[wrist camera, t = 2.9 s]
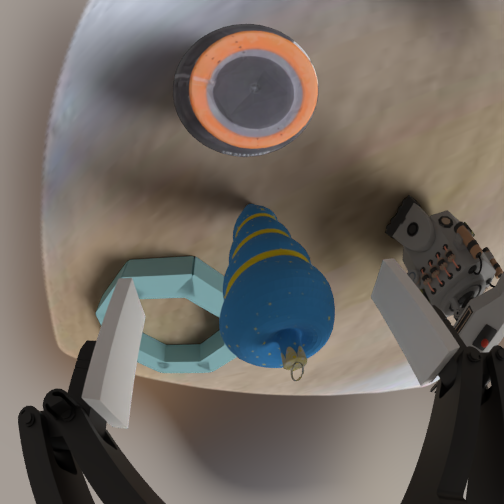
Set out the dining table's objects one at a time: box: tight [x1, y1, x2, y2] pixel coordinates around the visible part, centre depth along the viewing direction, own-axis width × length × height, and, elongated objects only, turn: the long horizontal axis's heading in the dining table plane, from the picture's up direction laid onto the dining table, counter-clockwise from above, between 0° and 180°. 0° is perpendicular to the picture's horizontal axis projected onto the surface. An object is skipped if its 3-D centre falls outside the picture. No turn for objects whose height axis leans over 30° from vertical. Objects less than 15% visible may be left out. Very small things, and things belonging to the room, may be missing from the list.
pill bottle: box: [173, 24, 319, 157], centre depth 12 cm, size 6×6×11 cm
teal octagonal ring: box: [96, 256, 237, 373], centre depth 26 cm, size 15×15×2 cm
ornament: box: [219, 204, 335, 381], centre depth 15 cm, size 5×5×15 cm
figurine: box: [385, 195, 504, 376], centre depth 19 cm, size 9×12×15 cm
